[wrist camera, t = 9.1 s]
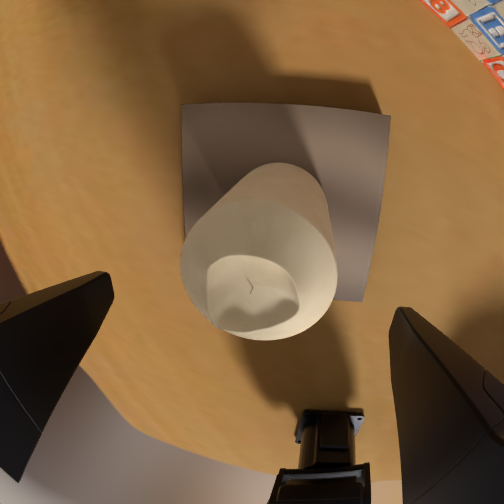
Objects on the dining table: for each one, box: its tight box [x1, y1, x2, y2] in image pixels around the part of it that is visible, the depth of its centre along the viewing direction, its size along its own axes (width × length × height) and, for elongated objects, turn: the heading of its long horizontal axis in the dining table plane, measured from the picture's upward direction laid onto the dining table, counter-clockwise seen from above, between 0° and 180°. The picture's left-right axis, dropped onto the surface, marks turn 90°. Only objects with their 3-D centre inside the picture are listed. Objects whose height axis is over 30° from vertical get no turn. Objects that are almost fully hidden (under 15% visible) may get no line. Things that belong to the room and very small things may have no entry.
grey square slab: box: [182, 103, 391, 302], centre depth 19 cm, size 12×12×2 cm
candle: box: [180, 163, 338, 340], centre depth 14 cm, size 6×6×10 cm
